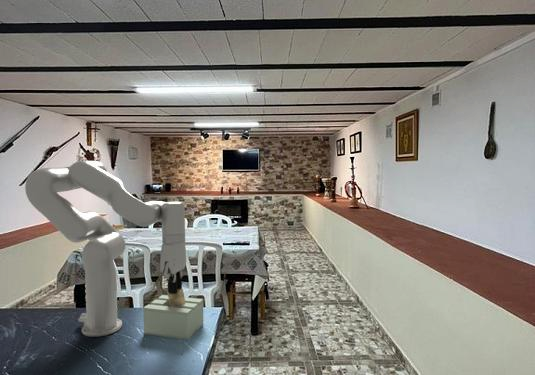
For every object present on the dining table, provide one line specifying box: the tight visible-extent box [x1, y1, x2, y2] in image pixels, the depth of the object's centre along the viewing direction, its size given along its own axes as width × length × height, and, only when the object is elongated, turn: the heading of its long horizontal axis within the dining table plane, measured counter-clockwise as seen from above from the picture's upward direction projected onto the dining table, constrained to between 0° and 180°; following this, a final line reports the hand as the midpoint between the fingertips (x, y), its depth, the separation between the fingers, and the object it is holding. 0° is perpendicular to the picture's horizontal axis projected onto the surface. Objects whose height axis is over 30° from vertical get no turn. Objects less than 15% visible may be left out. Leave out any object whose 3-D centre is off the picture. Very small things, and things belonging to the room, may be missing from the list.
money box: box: [142, 294, 204, 341], centre depth 121 cm, size 16×12×9 cm
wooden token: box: [167, 288, 186, 307], centre depth 121 cm, size 4×2×5 cm, turn 76°
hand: (175, 291), depth 121 cm, fingers closed on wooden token, 2 cm apart
